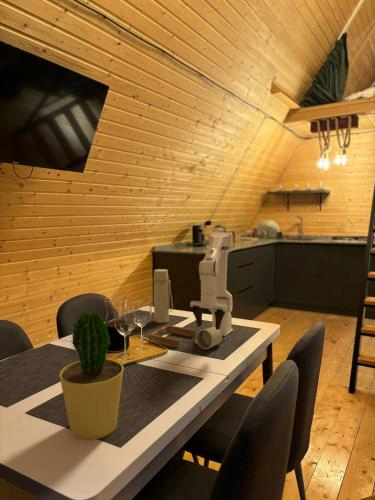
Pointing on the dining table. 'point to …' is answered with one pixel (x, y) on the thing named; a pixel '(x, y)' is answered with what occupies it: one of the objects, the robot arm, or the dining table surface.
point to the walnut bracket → (171, 342)
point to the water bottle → (161, 296)
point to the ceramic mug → (208, 337)
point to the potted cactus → (91, 381)
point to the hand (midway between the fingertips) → (208, 327)
